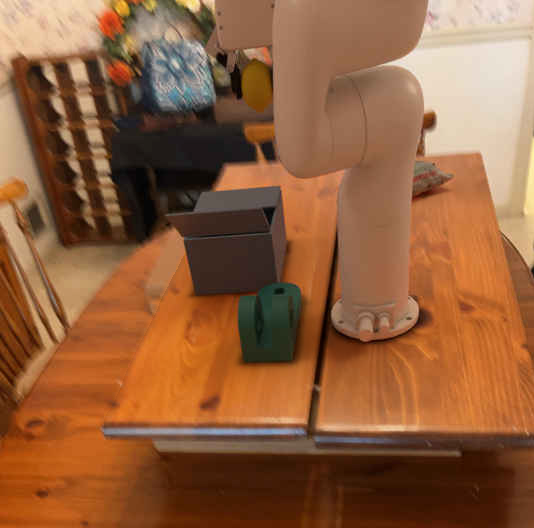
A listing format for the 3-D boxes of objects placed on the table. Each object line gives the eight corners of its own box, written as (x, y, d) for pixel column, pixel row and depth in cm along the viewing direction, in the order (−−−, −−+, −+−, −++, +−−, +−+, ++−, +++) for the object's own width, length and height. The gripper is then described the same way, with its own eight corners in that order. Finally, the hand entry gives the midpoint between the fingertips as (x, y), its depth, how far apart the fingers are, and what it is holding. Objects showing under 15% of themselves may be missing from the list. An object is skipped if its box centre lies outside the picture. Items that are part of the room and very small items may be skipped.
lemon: (262, 106, 111) (255, 52, 105) (283, 110, 107) (278, 54, 102) (238, 116, 108) (229, 61, 103) (259, 120, 105) (252, 63, 100)
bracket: (291, 361, 88) (286, 310, 83) (244, 362, 90) (235, 312, 84) (303, 294, 101) (299, 246, 95) (261, 296, 102) (255, 249, 97)
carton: (278, 290, 103) (271, 229, 96) (195, 295, 105) (182, 235, 98) (287, 242, 115) (281, 185, 108) (212, 248, 117) (201, 192, 110)
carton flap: (270, 228, 96) (270, 230, 96) (182, 235, 98) (182, 237, 98) (261, 206, 88) (261, 208, 88) (165, 214, 90) (165, 216, 90)
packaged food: (452, 190, 122) (454, 162, 118) (401, 208, 119) (401, 181, 115) (423, 178, 128) (424, 152, 124) (373, 196, 125) (373, 169, 121)
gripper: (301, -56, 95) (311, 83, 107) (190, -38, 98) (212, 95, 110) (297, -50, 89) (308, 95, 102) (179, -32, 92) (204, 107, 105)
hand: (258, 94), depth 106 cm, fingers closed on lemon, 5 cm apart
